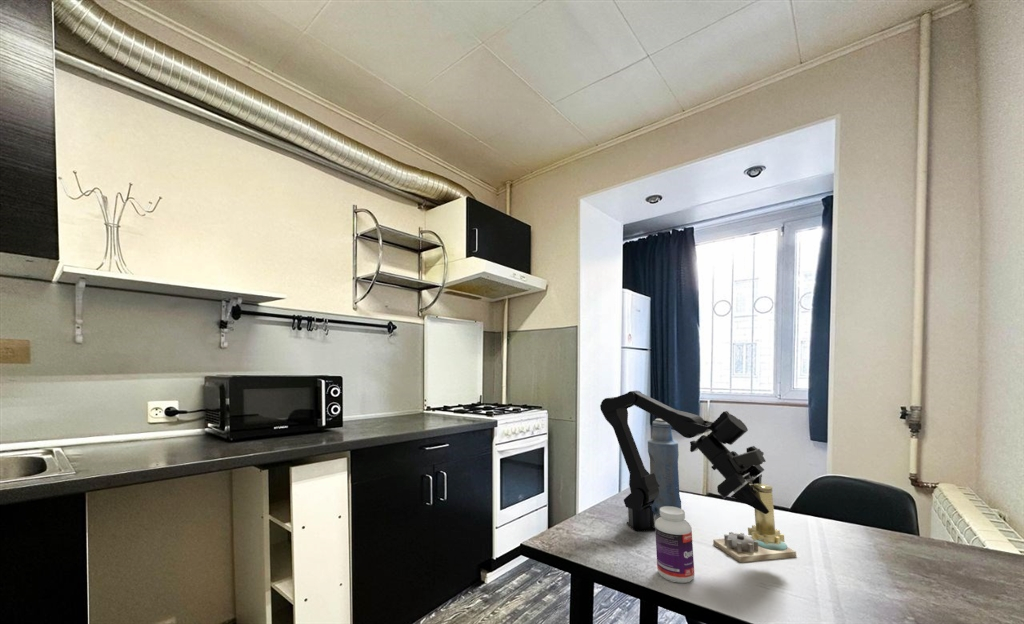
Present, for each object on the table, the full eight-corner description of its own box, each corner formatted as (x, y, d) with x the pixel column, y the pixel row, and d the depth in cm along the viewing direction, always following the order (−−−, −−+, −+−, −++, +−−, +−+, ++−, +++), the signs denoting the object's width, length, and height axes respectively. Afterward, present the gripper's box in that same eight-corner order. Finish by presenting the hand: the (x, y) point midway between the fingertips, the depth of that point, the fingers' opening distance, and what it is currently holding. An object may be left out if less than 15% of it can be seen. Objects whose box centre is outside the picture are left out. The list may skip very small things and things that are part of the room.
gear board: (739, 562, 99) (738, 545, 99) (713, 544, 108) (712, 529, 109) (799, 556, 101) (797, 540, 102) (768, 539, 111) (767, 524, 112)
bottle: (647, 506, 137) (642, 417, 141) (677, 507, 136) (671, 417, 140) (654, 517, 128) (649, 421, 131) (686, 518, 127) (680, 421, 131)
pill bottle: (692, 589, 87) (687, 519, 89) (654, 578, 91) (650, 512, 93) (697, 572, 94) (693, 507, 96) (661, 563, 98) (658, 502, 100)
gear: (766, 546, 92) (762, 492, 94) (741, 533, 99) (737, 482, 101) (792, 543, 94) (787, 489, 95) (765, 530, 101) (762, 480, 103)
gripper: (728, 441, 96) (786, 501, 87) (752, 432, 109) (805, 483, 99) (696, 469, 101) (748, 528, 92) (723, 457, 114) (771, 508, 104)
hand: (770, 510), depth 97 cm, fingers closed on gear, 4 cm apart
